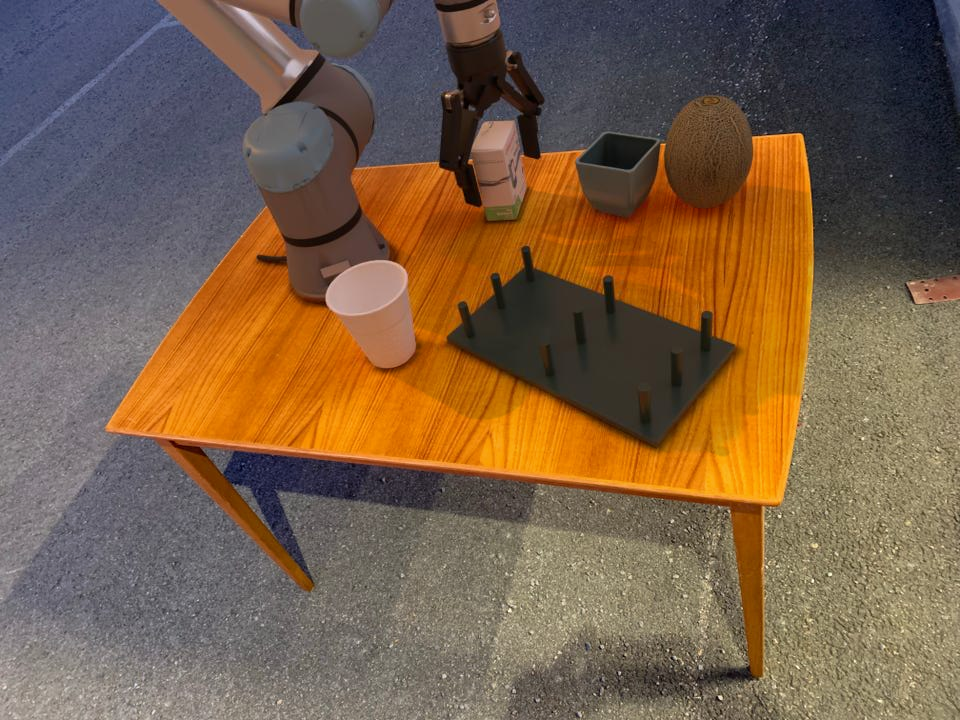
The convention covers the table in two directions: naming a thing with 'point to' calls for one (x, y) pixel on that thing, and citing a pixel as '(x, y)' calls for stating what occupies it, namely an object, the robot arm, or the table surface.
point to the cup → (375, 310)
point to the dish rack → (593, 350)
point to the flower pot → (618, 172)
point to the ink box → (499, 169)
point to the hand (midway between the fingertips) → (504, 180)
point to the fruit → (708, 151)
